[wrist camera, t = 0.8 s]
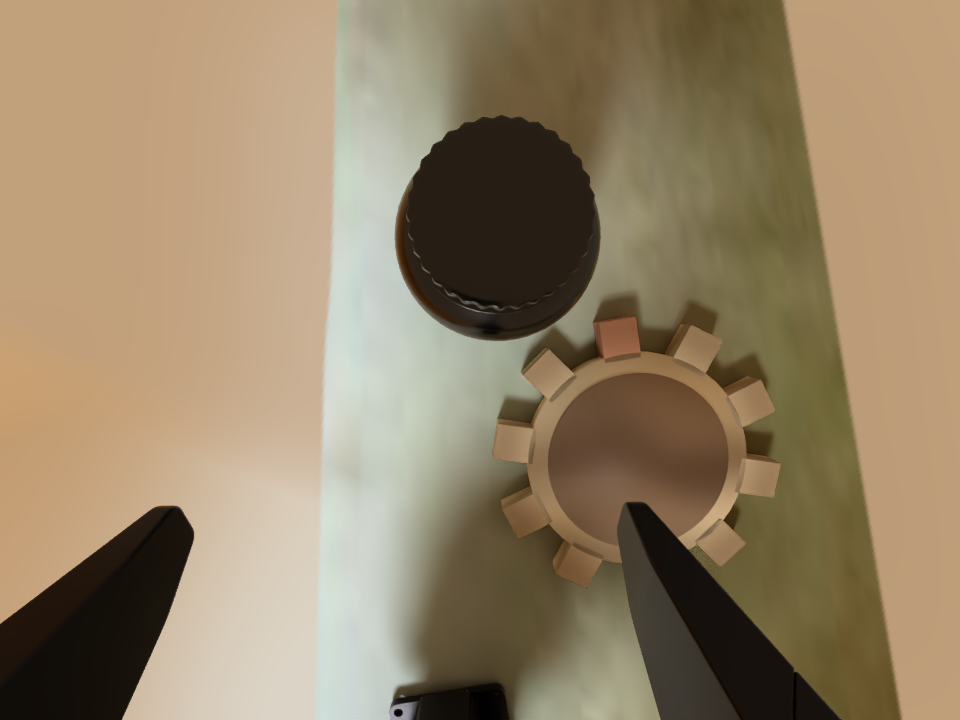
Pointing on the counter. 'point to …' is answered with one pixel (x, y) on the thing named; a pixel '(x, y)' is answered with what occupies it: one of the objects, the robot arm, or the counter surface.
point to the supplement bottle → (498, 229)
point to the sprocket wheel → (634, 447)
